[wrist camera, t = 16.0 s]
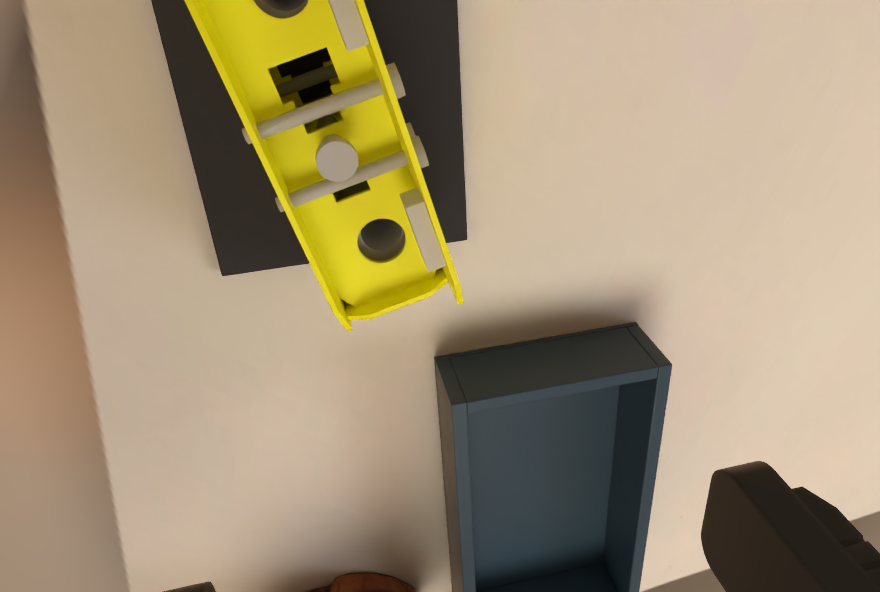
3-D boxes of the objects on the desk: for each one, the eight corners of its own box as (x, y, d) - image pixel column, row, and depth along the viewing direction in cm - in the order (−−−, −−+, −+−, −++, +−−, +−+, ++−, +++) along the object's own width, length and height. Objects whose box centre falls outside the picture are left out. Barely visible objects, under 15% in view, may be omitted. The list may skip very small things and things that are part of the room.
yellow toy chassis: (439, 229, 33) (484, 317, 26) (330, 270, 33) (346, 370, 26) (312, -142, 25) (328, -160, 18) (165, -89, 25) (121, -86, 17)
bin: (452, 599, 49) (467, 655, 45) (434, 357, 38) (451, 405, 34) (610, 563, 51) (636, 614, 47) (636, 321, 40) (672, 364, 36)
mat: (222, 271, 33) (222, 276, 32) (123, -118, 24) (120, -119, 24) (464, 235, 34) (467, 240, 34) (448, -138, 26) (451, -139, 26)
